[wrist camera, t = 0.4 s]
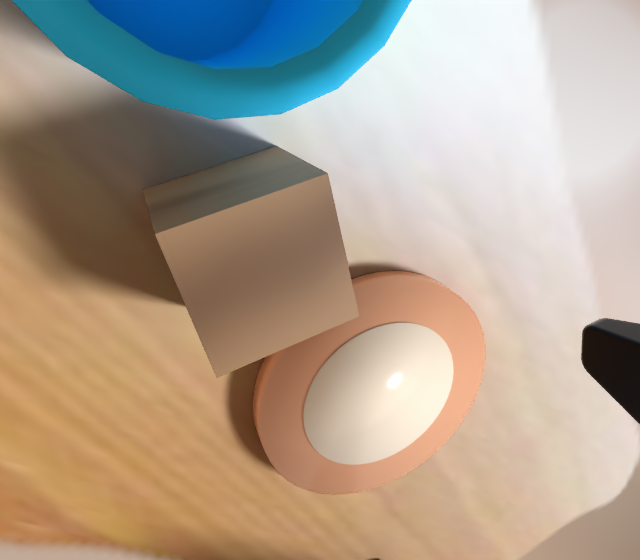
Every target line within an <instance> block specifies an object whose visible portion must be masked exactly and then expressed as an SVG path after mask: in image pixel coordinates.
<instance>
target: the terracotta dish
mask: <svg viewBox="0 0 640 560" xmlns="http://www.w3.org/2000/svg"><path fill="white" fill-rule="evenodd" d="M351 280H352V285H353V289H354V294H355V298H356V303H357V307H358V312H359V317H357V318H354V319H352V320H350V321H347V322H345V323H343V324H340V325H338V326H336V327H334V328H331V329H329V330H327V331H324V332H322V333H320V334H317V335H315V336H313V337H310V338H308V339H306V340H304V341H301V342H299V343H297V344H294V345H292V346H290V347H287V348H285V349H283V350H280V351H278V352H276V353H274V354H271V355H269V356H267V357H265V358H264V360H263V362H262V364H261V367H260V370H259V373H258V376H257V379H256V383H255V389H254V394H253V415H254V423H255V426H256V429H257V432H258V435H259V438H260V440H261V443H262V445H263V448H264V450H265V453H266V455H267V457H268V459H269V460H270V462H271V464H272V465H273V466H274V468H275V469H276V470H277V472H278V473H279V474H281V475H282V476H283V477H284V478H285V479H286V480H287V481H289V482H291V483H293V484H294V485H296V486H298V487H300V488H303V489H305V490H308V491H312V492H316V493H321V494H332V495H336V494H350V493H357V492H362V491H366V490H369V489H373V488H376V487H379V486H381V485H384V484H387V483H389V482H391V481H393V480H395V479H397V478H399V477H401V476H403V475H405V474H406V473H408V472H410V471H411V470H413V469H414V468H416V467H417V466H419V465H420V464H421V463H423V462H424V461H425V460H427V459H428V458H429V457H430V456H431V455H433V454H434V453H435V452H436V451H437V450H438V449H439V448H440V447H441V446H442V445H443V444H444V443H445V442H446V441H447V440H448V439H449V438H450V436H451V435H452V434H453V433H454V432H455V430H456V429H457V428H458V426H459V425H460V424H461V422H462V421H463V419H464V418H465V416H466V414H467V413H468V411H469V409H470V408H471V406H472V403H473V401H474V399H475V397H476V395H477V392H478V389H479V387H480V384H481V380H482V376H483V372H484V365H485V341H484V334H483V331H482V328H481V325H480V322H479V320H478V318H477V316H476V314H475V313H474V311H473V310H472V309H471V307H470V306H469V305H468V304H467V303H466V302H465V301H464V300H463V299H462V298H461V297H460V296H458V295H457V294H455V293H454V292H453V291H451V290H450V289H448V288H447V287H445V286H444V285H442V284H441V283H439V282H437V281H436V280H434V279H432V278H429V277H427V276H424V275H422V274H417V273H413V272H408V271H383V272H376V273H371V274H366V275H362V276H359V277H356V278H353V279H351Z"/></svg>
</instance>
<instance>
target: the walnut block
mask: <svg viewBox="0 0 640 560" xmlns="http://www.w3.org/2000/svg"><path fill="white" fill-rule="evenodd" d="M143 194H144V197H145V201H146V205H147V208H148V212H149V215H150V219H151V223H152V226H153V230H154V233H155V236H156V238H157V241H158V243H159V245H160V248H161V250H162V252H163V255H164V257H165V259H166V261H167V264H168V266H169V268H170V271H171V273H172V275H173V278H174V280H175V282H176V285H177V287H178V289H179V292H180V294H181V296H182V299H183V301H184V303H185V306H186V308H187V310H188V312H189V315H190V317H191V319H192V322H193V324H194V326H195V329H196V331H197V333H198V336H199V338H200V340H201V343H202V345H203V347H204V350H205V352H206V354H207V357H208V359H209V361H210V364H211V366H212V368H213V370H214V373H215V375H216V377H217V378H218V377H220V376H223V375H225V374H227V373H230V372H232V371H234V370H237V369H239V368H241V367H243V366H246V365H248V364H250V363H253V362H255V361H257V360H260V359H262V358H264V357H267V356H269V355H271V354H274V353H276V352H278V351H280V350H283V349H285V348H287V347H290V346H292V345H294V344H297V343H299V342H301V341H304V340H306V339H308V338H310V337H313V336H315V335H317V334H320V333H322V332H324V331H327V330H329V329H331V328H334V327H336V326H338V325H340V324H343V323H345V322H347V321H350V320H352V319H354V318H357V317H359V312H358V307H357V303H356V298H355V294H354V289H353V285H352V280H351V276H350V271H349V267H348V262H347V258H346V253H345V249H344V244H343V240H342V235H341V231H340V226H339V222H338V217H337V213H336V208H335V204H334V199H333V195H332V190H331V186H330V181H329V177H328V173H326V172H324V171H322V170H321V169H319V168H317V167H315V166H313V165H311V164H309V163H307V162H306V161H304V160H302V159H300V158H298V157H296V156H294V155H292V154H291V153H289V152H287V151H285V150H283V149H281V148H279V147H277V146H274V147H271V148H268V149H265V150H262V151H259V152H256V153H253V154H250V155H247V156H244V157H241V158H238V159H235V160H232V161H229V162H226V163H223V164H220V165H217V166H213V167H210V168H207V169H204V170H201V171H198V172H195V173H192V174H189V175H186V176H183V177H180V178H177V179H174V180H171V181H168V182H165V183H162V184H159V185H156V186H153V187H149V188H146V189H143Z"/></svg>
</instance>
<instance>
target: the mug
mask: <svg viewBox="0 0 640 560" xmlns="http://www.w3.org/2000/svg"><path fill="white" fill-rule="evenodd" d="M12 1H13V2H14V3H15V4H16V5H17V6H18V7H19V8H20V9H21V10H22V11H23V12H24V13H25V14H26V15H27V16H28V17H29V18H30V19H31V21H32V22H33V23H34V24H35V25H36V26H37V27H38V28H39V29H40V30H41V31H42V32H43V33H44V34H45V35H46V36H47V37H48V38H49V39H50V40H51V41H52V42H53V43H54V44H55V45H56V46H57V47H58V48H59V49H60V50H61V51H62V52H63V53H64V54H65V55H66V56H67V57H69V58H70V59H72V60H74V61H75V62H77V63H79V64H80V65H82V66H84V67H85V68H87V69H89V70H90V71H92V72H94V73H95V74H97V75H99V76H101V77H102V78H104V79H106V80H107V81H109V82H111V83H112V84H114V85H116V86H117V87H119V88H121V89H122V90H124V91H126V92H128V93H129V94H131V95H133V96H134V97H136V98H138V99H139V100H141V101H143V102H147V103H151V104H155V105H159V106H163V107H167V108H171V109H175V110H179V111H183V112H187V113H191V114H195V115H199V116H203V117H207V118H211V119H227V118H240V117H252V116H264V115H277V114H282V113H284V112H287V111H289V110H291V109H293V108H296V107H298V106H300V105H302V104H305V103H307V102H309V101H311V100H313V99H316V98H318V97H320V96H322V95H325V94H327V93H329V92H331V91H334V90H336V89H338V88H339V87H340V86H341V85H342V84H343V83H344V82H345V81H346V80H348V79H349V78H350V77H351V76H352V75H353V74H354V73H355V72H356V71H357V70H358V69H359V68H361V67H362V66H363V65H364V64H365V63H366V62H367V61H368V60H369V59H370V58H371V57H372V56H374V55H375V54H376V53H377V52H378V51H379V50H380V49H381V48H382V47H383V46H384V45H385V44H386V42H387V40H388V39H389V37H390V35H391V34H392V32H393V30H394V29H395V27H396V25H397V24H398V22H399V20H400V18H401V17H402V15H403V13H404V12H405V10H406V8H407V7H408V5H409V3H410V2H411V0H12Z"/></svg>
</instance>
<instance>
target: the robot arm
mask: <svg viewBox="0 0 640 560" xmlns="http://www.w3.org/2000/svg"><path fill="white" fill-rule="evenodd" d="M581 360H582V364H583V366H584V368H585V369H586V371H587V372H588V373H589V374H590V375H591V376H592V377H593V378H594V379H595V380H596V381H597V382H598V383H599V384H600V385H601V386H602V387H603V388H604V389H605V390H606V391H607V392H608V393H609V394H610V395H611V396H612V397H613V398H614V399H615V400H616V401H617V402H618V403H619V404H620V405H621V406H622V407H623V408H624V409H625V410H626V411H627V412H628V413H629V414H630V415H631V416H632V417H633V418H634V419H635V420H636V421H637V422H638V423H639V424H640V324H638V323H631V322H626V321H620V320H614V319H607V318H603V319H599V320H597V321H595V322H593V323H591V324H589V325H587V326H586V327H585V328H584V329H583V333H582V353H581Z"/></svg>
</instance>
